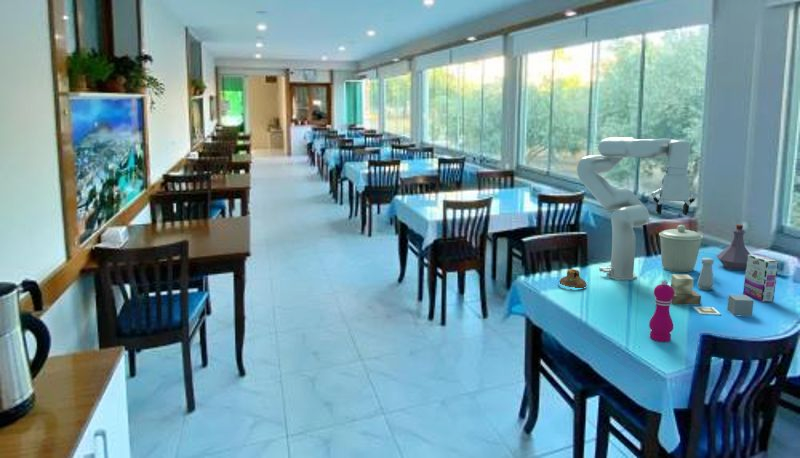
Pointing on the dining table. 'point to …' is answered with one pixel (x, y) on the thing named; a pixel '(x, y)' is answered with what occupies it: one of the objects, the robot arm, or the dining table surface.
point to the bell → (573, 279)
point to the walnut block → (686, 299)
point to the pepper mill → (662, 313)
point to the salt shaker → (706, 274)
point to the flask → (735, 252)
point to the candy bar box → (760, 278)
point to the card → (707, 310)
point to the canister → (679, 249)
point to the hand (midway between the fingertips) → (671, 214)
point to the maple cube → (682, 284)
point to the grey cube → (740, 305)
